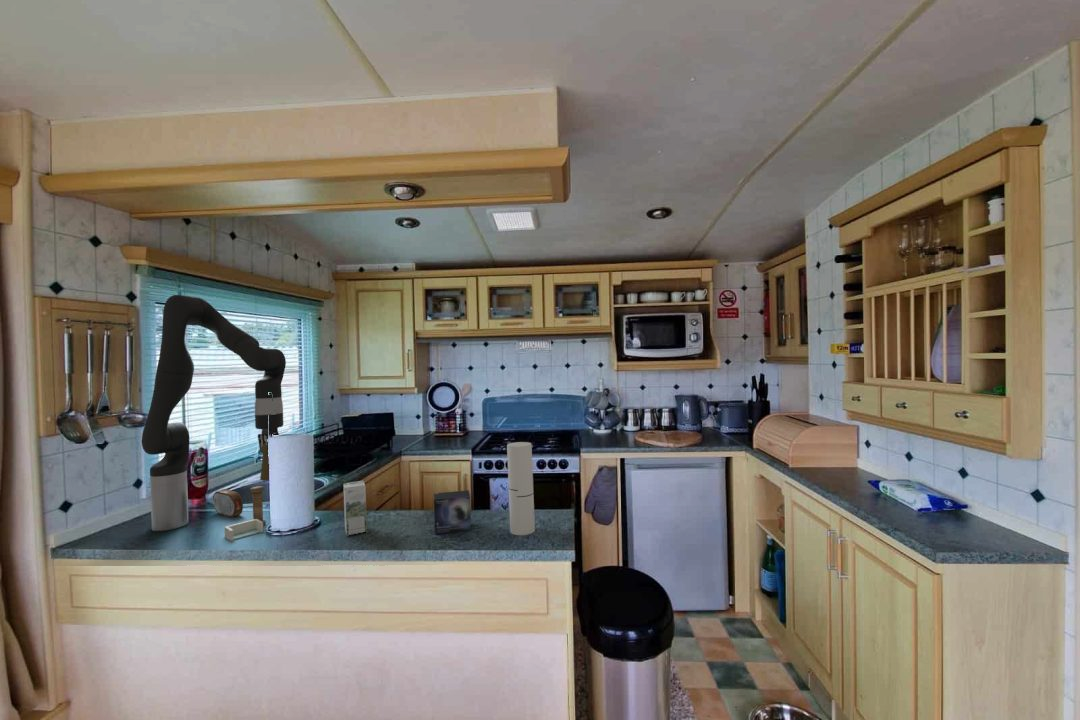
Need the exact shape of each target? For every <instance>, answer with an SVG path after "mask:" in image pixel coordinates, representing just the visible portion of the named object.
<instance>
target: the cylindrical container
mask: <svg viewBox="0 0 1080 720" xmlns="http://www.w3.org/2000/svg"><path fill="white" fill-rule="evenodd" d="M532 448H533V447H532V443H531V442H529V441H528V442H527V441H516V442H515V441H514V442H511V443H507V445H506V453H507V454H506V457H507V478H508V479H507V481H508V504H509V507H508V508H509V532H510V534H512V535H514V536H527V535H531V534H533V533H534V532H535V531H536V527H535V526H536V525H535V524H536V523H535V503H534V502H535V499H534V473H533V470H534V468H533V449H532Z"/></svg>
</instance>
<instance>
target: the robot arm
mask: <svg viewBox="0 0 1080 720" xmlns="http://www.w3.org/2000/svg"><path fill="white" fill-rule="evenodd" d="M162 311H163V312H162V330H161V332H162V333H161V342H160V343H161V344H160V349H159V350H160V351H159V358H158V361H157V366H156V373H155V379H154V385H153V386H154V387H153V391H152V397H151V402H150V407H149V410H148V414H147V417H146V419H145V423H144V427H143V431H142V435H141V446H142V449H143V451H144V452H145V453H146V454H148V455H151V456H153V455H160V454H162V455H163V454H164V457H162V459H160V460H159V461H158V462H157V463H154V464H153V465H152V466H150V468H149V482H150V510H151V511H150V512H151V513H150V514H151V515H150V516H151V517H150V518H151V531H153V532H163V531H169V530H174V529H178V528H181V527H184V526H186V525H188V524H189V499H188V497H189V496H188V493H189V491H188V470H187V469H188V468H187V467H188V464H189V460H190V431H189V429H188V428H187V426H186V424H184V423H182V422H170V421H169V420H170V417H171V415H172V412H174V409H175V408H176V407H177V405H178V404H179V403H180V402H181V401H182V399H184V397H185V396H186V395H187V394H188V391H189V390H190V389H191V387H192V383H193V378H194V373H195V371H194V370H195V365H194V364H195V363H194V361H193V358H192V355H191V353H190V352H189V350H188V347H187V344H186V331H187V327H188V326H200V327H202V328H205V329H207V330H209V331H211V332H212V333H213V334H214V335H215V336H216V338H217V340H218V341H219V343H220V344H221V345H222V346H223V347H224V348H226V349H227V350H229V351H231V352H232V353H234V354H236V355H237V356H238V357H240V359H241V360H242V361H243V362H244V363H245V364H246V365H247V366H248V367H249V368H251V369H253V370H255V371H256V372H257V371H259V372H264V373H263V376H262V378H259V379H258V380H256V382H255V384H254V391H255V392H254V393H255V396H254V397H255V398H254V399H255V400H254V401H255V402H254V424H255V425H254V426H255V429H256V430H261V433H258V434H257V441H258V447H259V452H260V453H261V454H262V456H263V453H262V452H261V446H262V445H263V444H264V443H266V448H267V449H268V442H267V439H268V415H269V435H270V434H271V435H272V434H273V435H279V436H280V433H279V431H278V430H279V428H281V427H284V405H283V404H284V403H283V397H282V382H283V379H284V375H285V370H286V364H287V362H286V361H287V360H286V356H285V354H284V352H283V351H282V350H280V349H278V348H269V347H268V348H264V347H262V346H260V342H259V340H257V338H255V337H254V336H252V335H251V334H249V333H248V332H246V331H244V330H243V329H241V328H239V326H237V325H235V324H234V323H232V322H231V321H230V320H228V318H227V317H225V316H223V314H221V313H220V312H219V311H218V310H217V309H216V308H215V307H213V305H211V304H210V303H209V302H208V301H207V300H205V299H203V298H201V297H197V296H190V295H182V294H173V295H171V296H169V297H168V298H167V299H166V301H165V303H164V306H163V310H162ZM268 392H272V394H273V401H272V395H268ZM269 394H271V393H269ZM270 411H271V412H270ZM169 422H170V423H169Z"/></svg>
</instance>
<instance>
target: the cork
mask: <svg viewBox="0 0 1080 720" xmlns="http://www.w3.org/2000/svg"><path fill="white" fill-rule="evenodd" d="M260 453H261V454H262V453H263V455H262V461H261V469H260V481H270V480H269V464H268V449H267V448H266V443H264V444H263V445H262V446H261V452H260Z"/></svg>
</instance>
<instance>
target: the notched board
mask: <svg viewBox="0 0 1080 720" xmlns="http://www.w3.org/2000/svg"><path fill="white" fill-rule="evenodd" d="M261 533H264V526H263V522H262V521H260V520H258V519H251V520H246V521H243V522H238V523H235V524H230V525H227V526H224V538H226V539H227V540H229V541H230V542H232V541H237V540H239V539H242V538H247V537H251V536H254V535H258V534H261Z"/></svg>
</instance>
